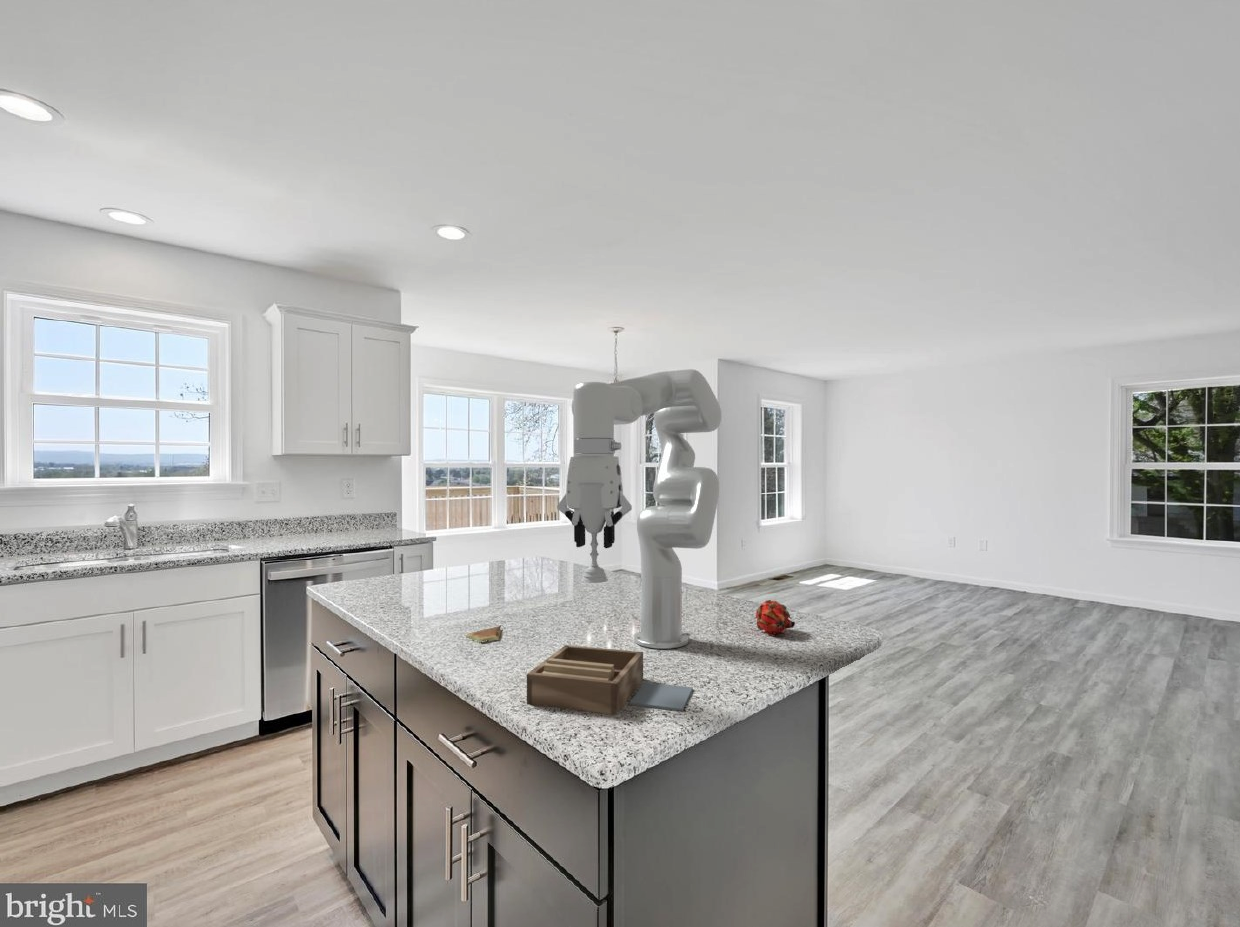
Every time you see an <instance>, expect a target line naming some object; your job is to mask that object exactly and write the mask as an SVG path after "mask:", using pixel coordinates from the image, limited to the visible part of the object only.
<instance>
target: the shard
mask: <svg viewBox="0 0 1240 927" xmlns="http://www.w3.org/2000/svg"><path fill="white" fill-rule="evenodd" d="M501 627H502V625H498V626H494V627H489V628H485V629H482V630H481V629H480V630H477V631H474V632H470V633H467V634H466V635H465V636H464V638H465V637H466V638H469V639H472V640H477V641H479V642H482V641H486V640H498V641H499V639H500V634H501ZM466 638H465V639H466ZM482 643H483V642H482Z"/></svg>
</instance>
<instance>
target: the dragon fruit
mask: <svg viewBox="0 0 1240 927" xmlns="http://www.w3.org/2000/svg"><path fill="white" fill-rule="evenodd" d="M755 611H756V613H755V619H756V626H757V629H758V630H759V631H764V632H765V633H766V634H767V635H768V634H770V635H772V636H771V637H777V633H778V634H785V632H787V629H793V628H794V627H795V624H796V622H795V621H794V620H793V618H792V617H791V615H790V612H789V611H788V610H787V606H786V605H785V604H782V603H779V602H778V601H777V600H771V599H768V600H765V601H764V602H762V604H760V605H759V606H758V608H757V609H756V610H755ZM792 620H793V621H792ZM775 634H776V635H775ZM770 635H769V636H770Z"/></svg>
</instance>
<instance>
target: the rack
mask: <svg viewBox="0 0 1240 927" xmlns="http://www.w3.org/2000/svg"><path fill="white" fill-rule="evenodd" d="M549 658H553V659H563V660H573V661H583V662H593V663H603V664H613V665H614V680H613V681H608V680H599V679H589V678H580V677H570V676H561V675H552V674H542V672H543V671H544V665H545V664H546V663H547V660H548V659H549ZM643 680H644V651H634V650H623V649H621V650H620V649H613V648H602V647H600V648H599V647H591V646H590V647H589V646H578V645H570V644H569V645H567V644H565V645H564V646H562V647H561V648H560V649H558V650H557V651H555V652H554V653H553V654H551V655H550V656H549V657H548V658H546V659H544V660H543V661H542V662H541V663H539V664H538V665H537V666H536V667H534V668H533V669H532V670H530V671H529V672H527V673H526V704H527V705H536V706H543V707H550V708H560V709H567V710H575V711H576V710H577V711H582V712H583V711H584V712H591V713H600V714H608V715H615V716H616V715H618V714H619V712H620V711H621V709H622V708H623V707H624V705H625V704H626V702H627V701H628V700H629V699H630V697H631V696H632V694H633V693H634V692H635V690H636V689H637V688H638V686H639V685H640V684H641V683H642V681H643Z"/></svg>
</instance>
